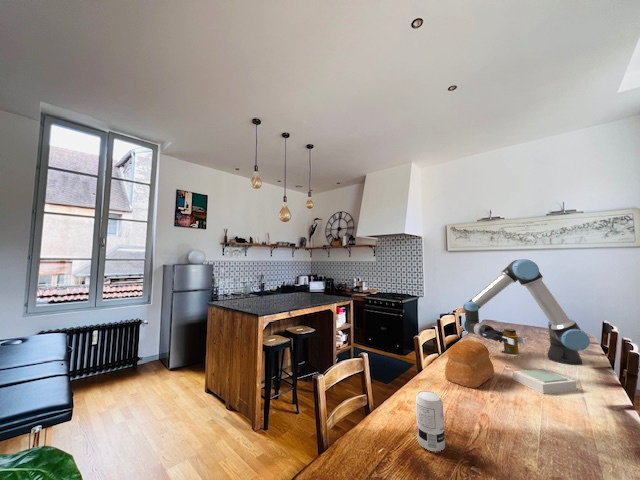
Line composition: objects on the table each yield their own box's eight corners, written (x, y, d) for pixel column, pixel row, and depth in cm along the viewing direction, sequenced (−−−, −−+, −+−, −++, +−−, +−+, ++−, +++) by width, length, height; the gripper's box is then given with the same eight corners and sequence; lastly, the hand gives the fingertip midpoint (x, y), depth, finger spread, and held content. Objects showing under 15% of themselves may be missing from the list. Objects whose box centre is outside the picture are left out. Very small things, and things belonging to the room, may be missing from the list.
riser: (543, 376, 134) (542, 367, 135) (576, 390, 120) (575, 379, 120) (513, 379, 131) (512, 370, 132) (543, 394, 116) (542, 383, 117)
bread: (442, 379, 132) (440, 344, 134) (465, 367, 148) (463, 335, 150) (475, 391, 120) (473, 352, 122) (497, 376, 136) (494, 341, 138)
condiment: (522, 353, 138) (520, 330, 139) (514, 356, 133) (512, 332, 135) (506, 349, 144) (505, 327, 145) (498, 352, 140) (496, 329, 141)
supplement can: (413, 437, 88) (411, 390, 90) (436, 435, 89) (434, 389, 90) (424, 454, 80) (422, 402, 82) (450, 452, 81) (447, 401, 82)
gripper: (499, 336, 158) (536, 348, 136) (470, 338, 155) (503, 350, 133) (498, 323, 159) (534, 333, 136) (469, 325, 156) (502, 335, 133)
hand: (519, 341), depth 135 cm, fingers closed on condiment, 6 cm apart
